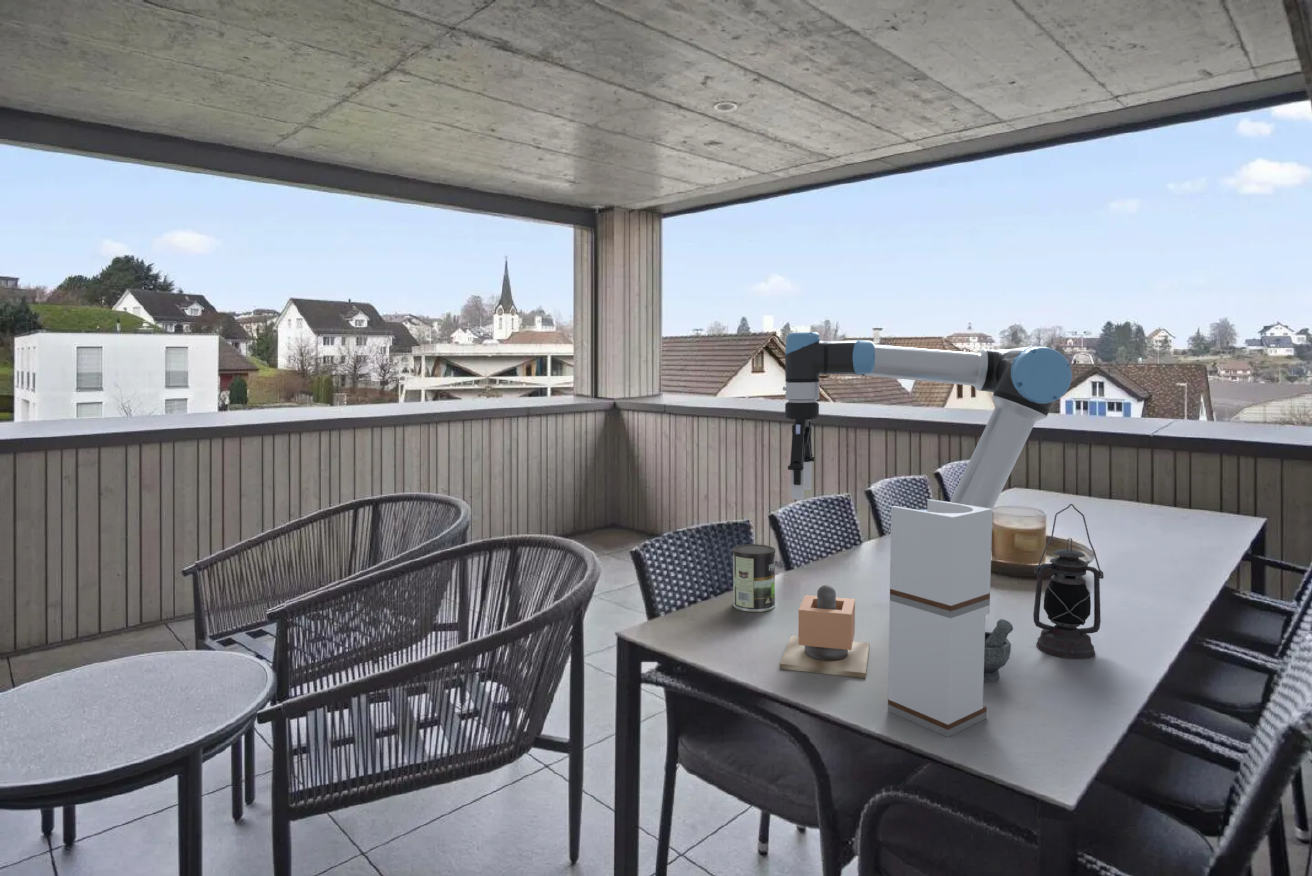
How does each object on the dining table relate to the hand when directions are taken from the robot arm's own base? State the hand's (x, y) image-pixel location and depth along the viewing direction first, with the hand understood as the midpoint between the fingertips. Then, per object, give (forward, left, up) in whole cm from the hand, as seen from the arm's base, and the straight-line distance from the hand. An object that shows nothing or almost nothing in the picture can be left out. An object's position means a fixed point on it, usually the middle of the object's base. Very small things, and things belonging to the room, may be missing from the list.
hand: (801, 494), depth 175 cm
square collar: (-8, +24, -25) cm, 35 cm away
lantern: (-54, +6, -29) cm, 62 cm away
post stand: (-8, +24, -29) cm, 38 cm away
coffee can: (+12, -5, -29) cm, 32 cm away
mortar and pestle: (-37, +25, -29) cm, 53 cm away
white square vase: (-28, +44, -29) cm, 60 cm away
